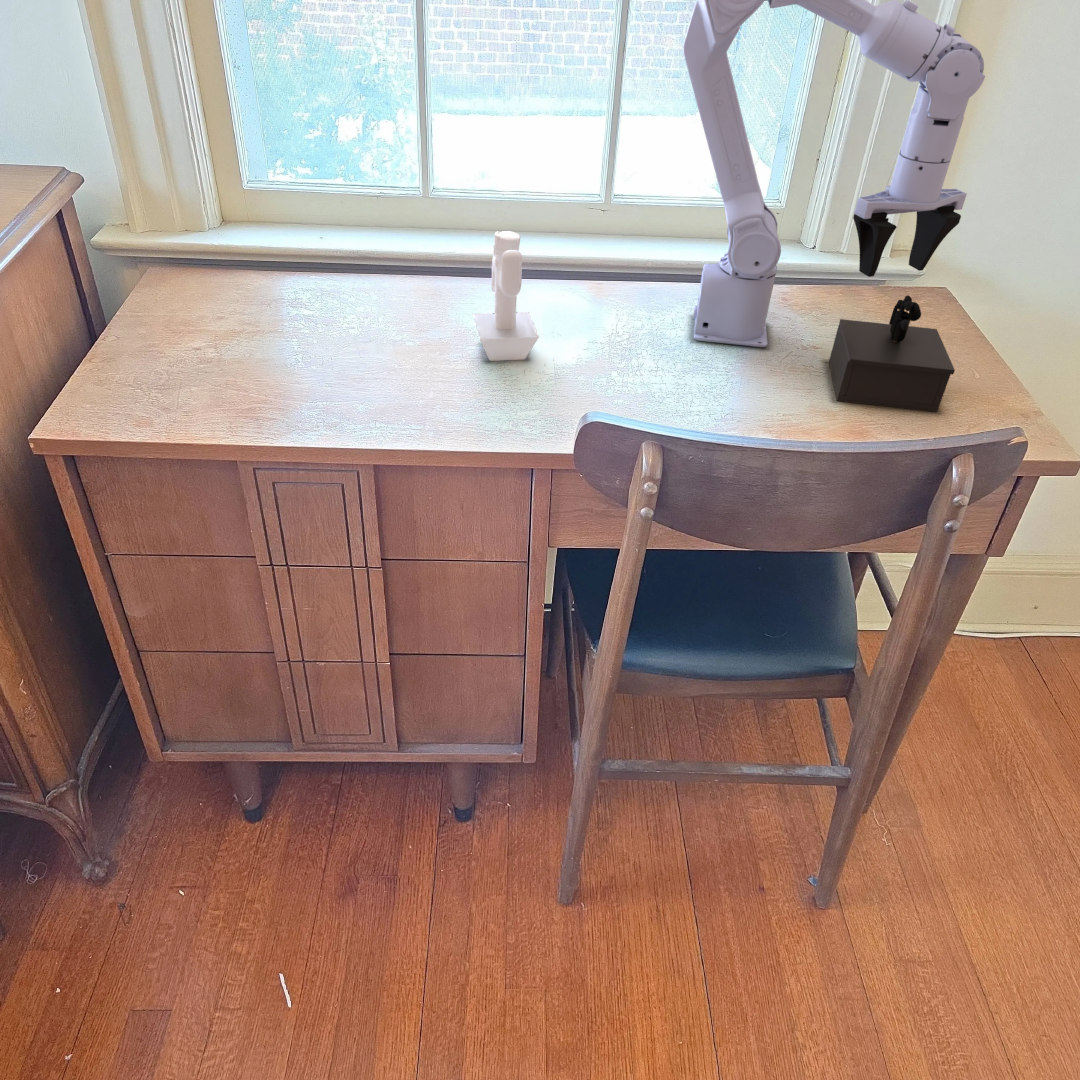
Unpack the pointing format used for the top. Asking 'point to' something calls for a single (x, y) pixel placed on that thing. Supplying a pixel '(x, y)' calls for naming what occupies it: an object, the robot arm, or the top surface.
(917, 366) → the case lid
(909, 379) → the case
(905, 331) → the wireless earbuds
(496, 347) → the figurine
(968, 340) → the top surface
